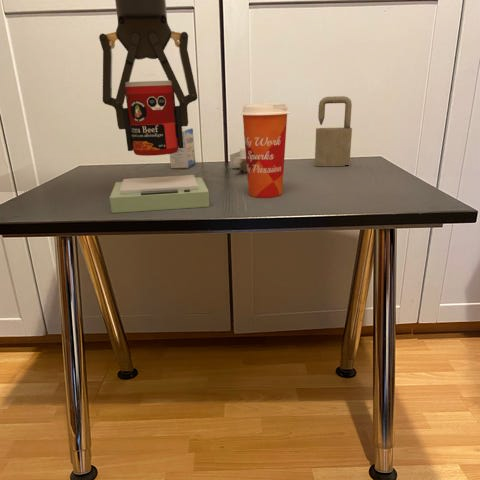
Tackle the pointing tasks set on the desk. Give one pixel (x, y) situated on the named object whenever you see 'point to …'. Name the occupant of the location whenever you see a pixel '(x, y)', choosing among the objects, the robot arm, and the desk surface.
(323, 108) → the padlock
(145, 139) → the canned food
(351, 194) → the desk surface
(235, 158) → the bunny figurine
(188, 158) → the medicine box
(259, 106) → the coffee cup
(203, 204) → the scale
